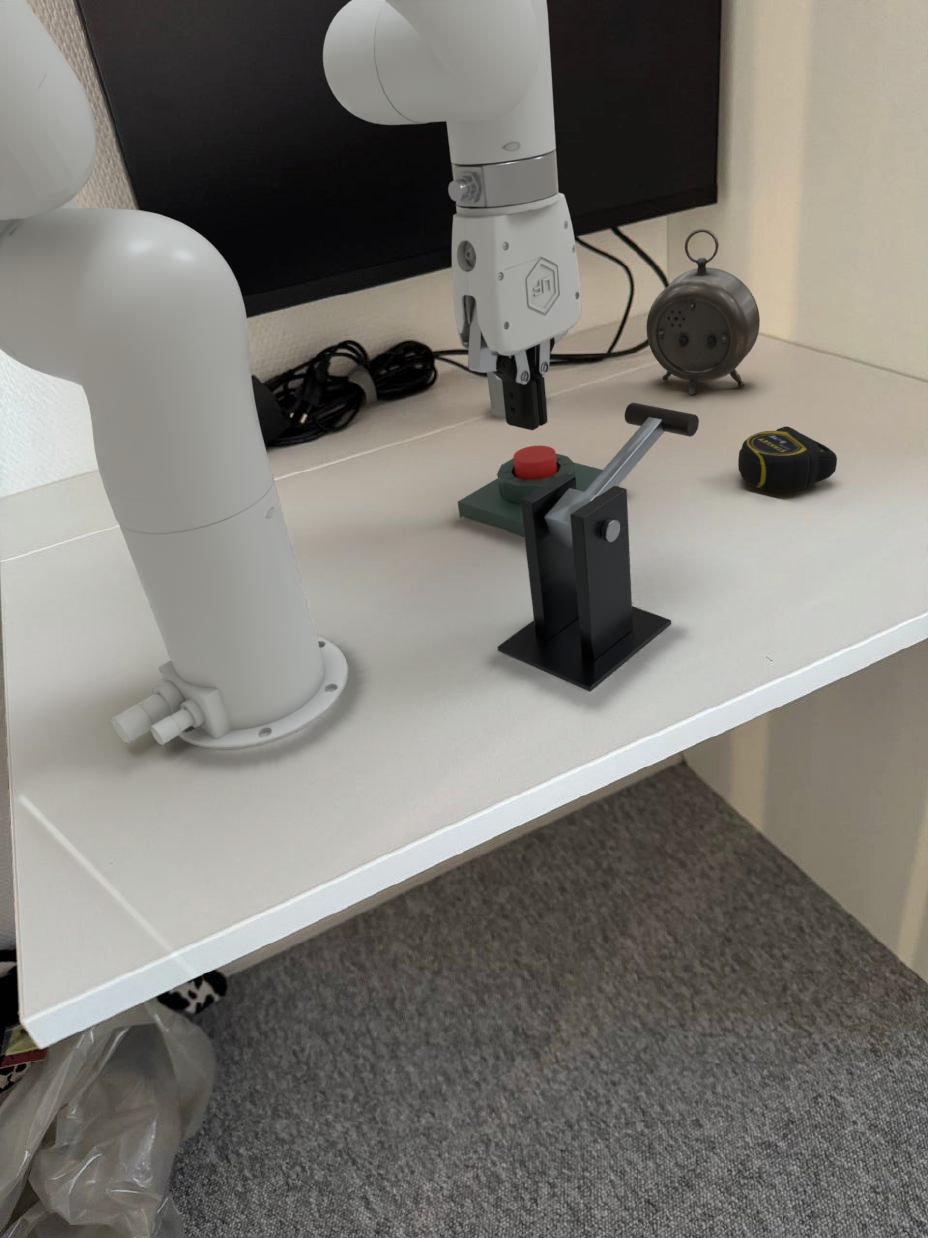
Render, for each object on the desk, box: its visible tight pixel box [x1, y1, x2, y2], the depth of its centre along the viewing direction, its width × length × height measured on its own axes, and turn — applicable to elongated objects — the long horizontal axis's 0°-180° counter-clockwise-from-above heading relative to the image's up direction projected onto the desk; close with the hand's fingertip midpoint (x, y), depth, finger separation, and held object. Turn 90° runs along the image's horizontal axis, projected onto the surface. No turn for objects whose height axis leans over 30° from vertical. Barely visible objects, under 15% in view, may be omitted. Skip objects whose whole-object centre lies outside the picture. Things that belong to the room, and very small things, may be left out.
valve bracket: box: [497, 473, 672, 692], centre depth 62 cm, size 9×8×12 cm
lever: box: [544, 402, 700, 549], centre depth 61 cm, size 12×5×2 cm, turn 136°
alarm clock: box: [646, 228, 761, 396], centre depth 97 cm, size 11×5×16 cm, turn 58°
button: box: [512, 445, 557, 480], centre depth 80 cm, size 4×4×2 cm
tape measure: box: [737, 426, 838, 493], centre depth 80 cm, size 7×7×4 cm
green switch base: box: [457, 453, 620, 538], centre depth 82 cm, size 11×9×4 cm
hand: (526, 423), depth 78 cm, fingers closed
